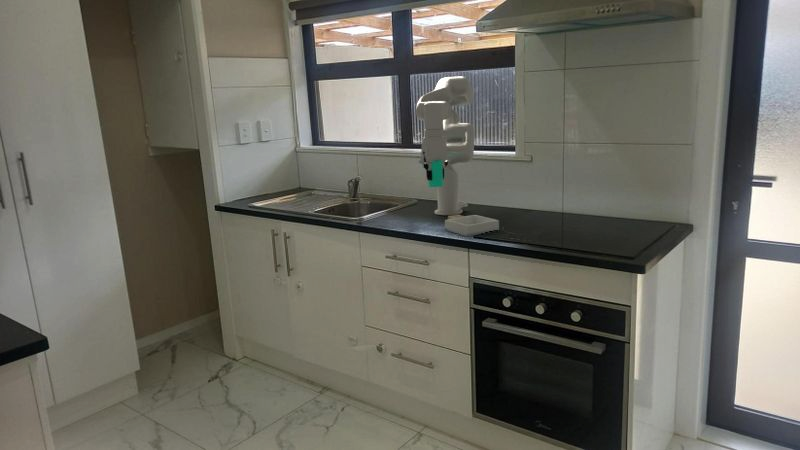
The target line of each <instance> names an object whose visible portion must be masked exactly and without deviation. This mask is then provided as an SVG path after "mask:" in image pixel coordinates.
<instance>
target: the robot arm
mask: <svg viewBox="0 0 800 450" xmlns="http://www.w3.org/2000/svg"><path fill="white" fill-rule="evenodd" d="M474 98H475V95H474V89H473V87H472V84H471V82H470V80H469V79H468V78H467V77H466V76H447V77H443V78H440V79H439V80H438V82H437V83H436V86H435V88H434V90H432V91H430V92H428V93H425V94H423V95H422V96H421V97H420V98H419V99H418V102H417V104H416V107H415V115H416V116H415V117H417V119H418V120H419V121H423V122H424V123H423V126H424V137H422V142H421V148H420V149H421V155H420V159H419V161H418V164H419V165H420V166H421V167H423V169H424V170H425V172H426V180H427V181H428V180H432V170H431V163H432V162H434V161H439V160H442V167H443V186H442V187H436V193H437V209H435V210H434V214H435V215H438V216H452V215H461V214H462V213H463V209H462V208H465V207H468V202H465V201H464V202H460V199H459V198H460V196H459V175H458V174H459V173H458V171H457V170H456V168H454V166H453V165H468V164H471V163H472V161H473V159H474V152H475V142H476V141H475V139H476V135H475V134H476V131H475V127H474V125H473V124H472V123H468V122H460V120H461V119H460V118H461V117H460V115H459V114H458V112H457V111H456V110H455V109H453V108H452V107H460V106H463V107H464V106H470V105H472V103H473V102H474Z"/></svg>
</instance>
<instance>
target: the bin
mask: <svg viewBox="0 0 800 450" xmlns="http://www.w3.org/2000/svg"><path fill="white" fill-rule="evenodd" d="M493 230H498V231H500V220H498V219H495V218H491V217H486V216H483V215H478V214H472V215H466V216H465V217H459V218H453V219H448V218H447V219H445V220H444V231H448V232H452V233H455V234H458V235H460V236H465V237H471V236H472V237H473V236H476V235H481V233H483V234H486V233H485V232H488V233H490V232H489V231H493ZM493 232H494V231H493Z"/></svg>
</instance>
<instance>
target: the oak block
mask: <svg viewBox="0 0 800 450" xmlns="http://www.w3.org/2000/svg"><path fill="white" fill-rule="evenodd" d="M459 217H465V216H464V215H461V214H457V215H447V220H448V219H453V218H459Z"/></svg>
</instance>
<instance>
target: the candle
mask: <svg viewBox="0 0 800 450" xmlns="http://www.w3.org/2000/svg"><path fill="white" fill-rule="evenodd" d="M431 170H432V180H427V183H428V187H429V188H437V187H442V186H443V167H442V160H439V161H434V162H432V163H431Z"/></svg>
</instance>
